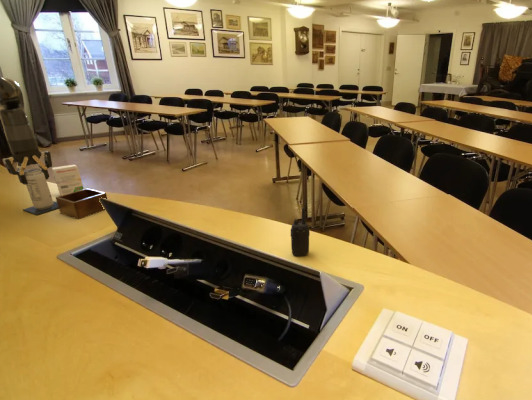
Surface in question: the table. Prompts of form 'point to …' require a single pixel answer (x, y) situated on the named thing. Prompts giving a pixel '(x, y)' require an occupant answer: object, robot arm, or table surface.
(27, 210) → the coaster
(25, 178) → the robot arm
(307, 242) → the two-way radio
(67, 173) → the ink box
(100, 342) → the table surface
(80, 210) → the brown wooden box
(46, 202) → the energy drink can
